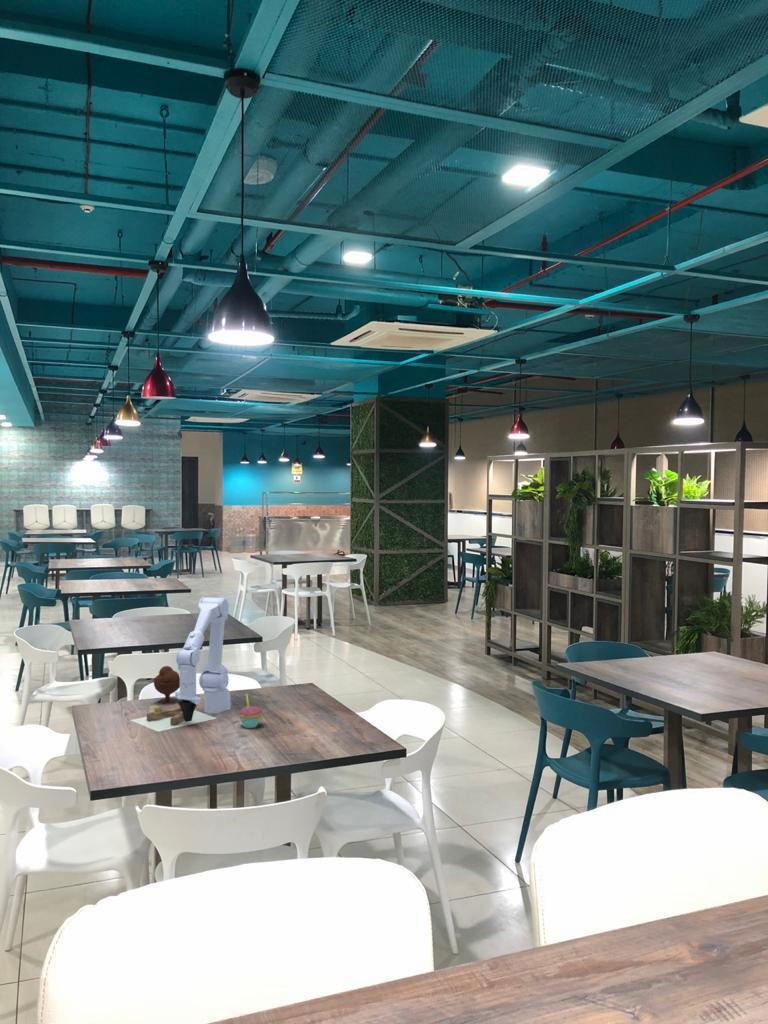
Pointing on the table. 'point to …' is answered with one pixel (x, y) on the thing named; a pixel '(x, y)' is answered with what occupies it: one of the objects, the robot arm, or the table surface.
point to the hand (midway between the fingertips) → (188, 721)
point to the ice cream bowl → (167, 682)
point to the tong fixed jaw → (163, 714)
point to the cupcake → (250, 715)
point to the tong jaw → (176, 719)
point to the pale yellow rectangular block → (155, 709)
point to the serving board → (165, 723)
